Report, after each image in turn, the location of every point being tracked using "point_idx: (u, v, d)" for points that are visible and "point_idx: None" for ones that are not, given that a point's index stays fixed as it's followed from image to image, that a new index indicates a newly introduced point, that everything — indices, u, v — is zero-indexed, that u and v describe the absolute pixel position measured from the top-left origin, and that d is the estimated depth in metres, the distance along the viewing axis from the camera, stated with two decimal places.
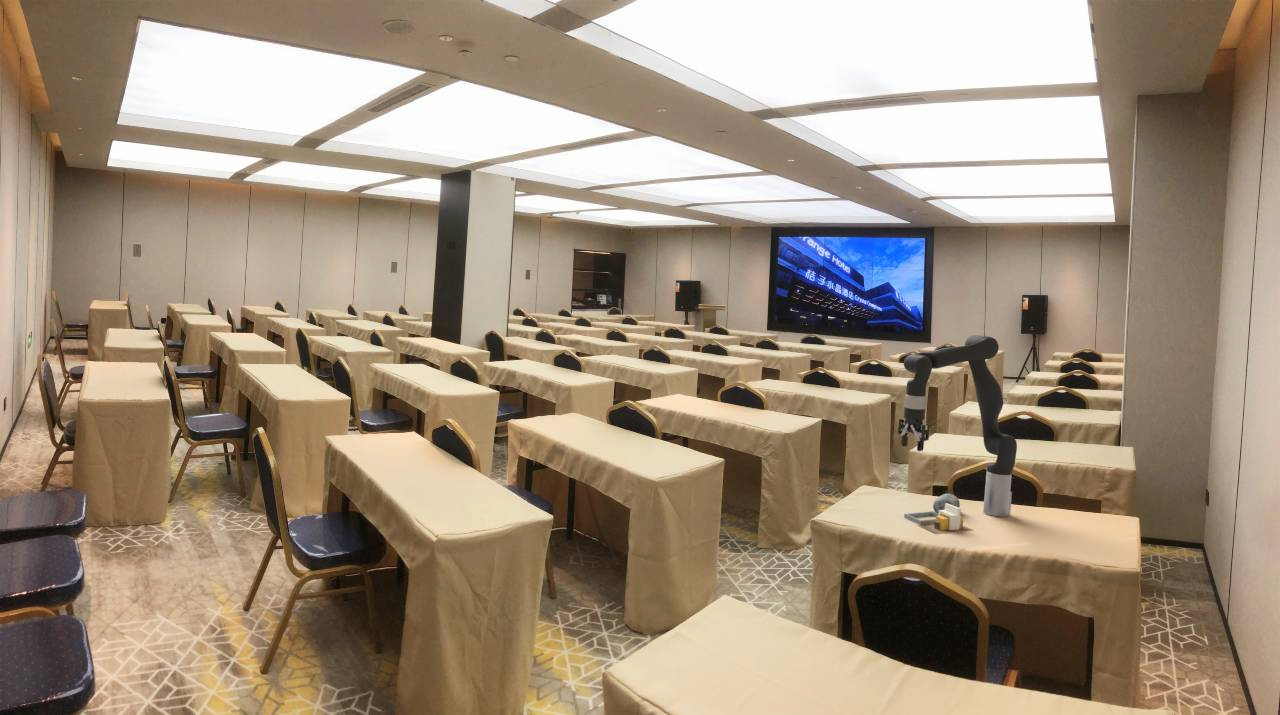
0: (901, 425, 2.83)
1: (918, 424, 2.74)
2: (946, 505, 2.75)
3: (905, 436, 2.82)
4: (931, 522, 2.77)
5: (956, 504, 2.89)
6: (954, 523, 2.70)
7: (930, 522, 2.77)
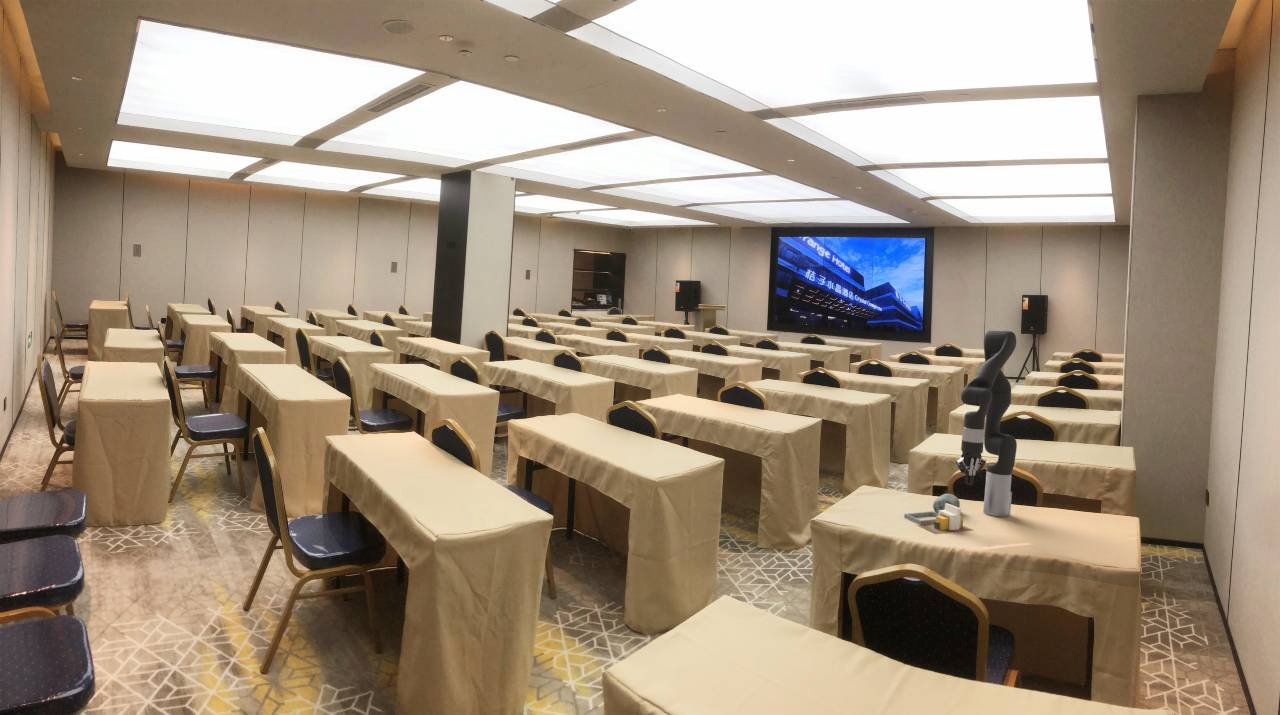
0: None
1: (981, 457, 2.74)
2: (946, 505, 2.75)
3: None
4: (931, 522, 2.77)
5: (956, 504, 2.89)
6: (954, 523, 2.70)
7: (930, 522, 2.77)
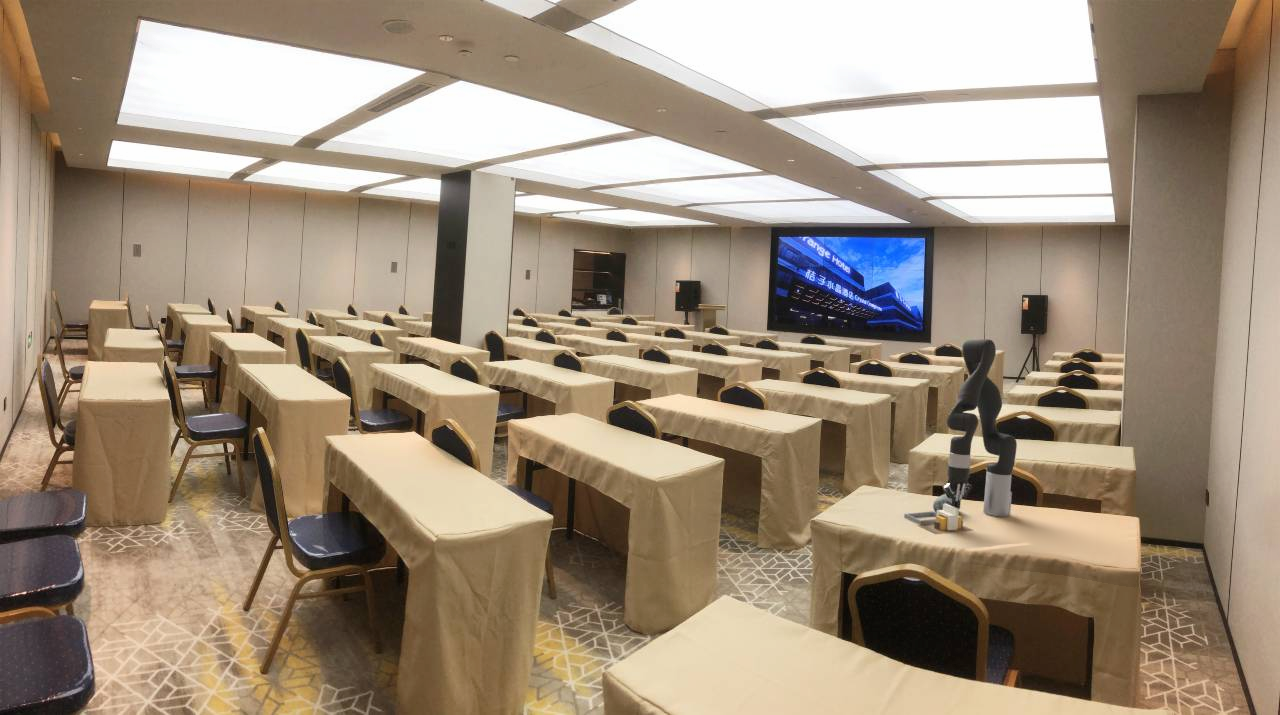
0: None
1: (967, 482, 2.73)
2: (944, 505, 2.75)
3: None
4: (931, 522, 2.77)
5: None
6: (952, 523, 2.70)
7: (930, 522, 2.77)
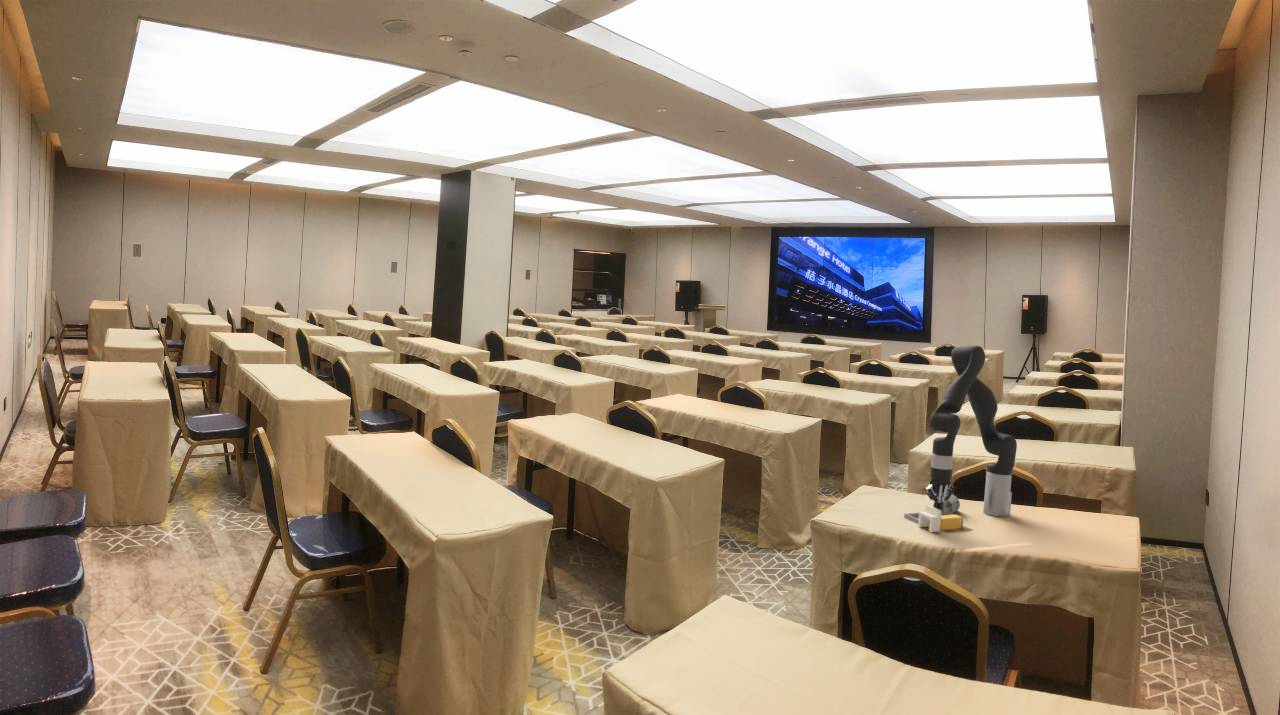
0: None
1: (950, 483, 2.70)
2: (927, 507, 2.72)
3: None
4: None
5: (956, 504, 2.89)
6: (934, 525, 2.67)
7: None
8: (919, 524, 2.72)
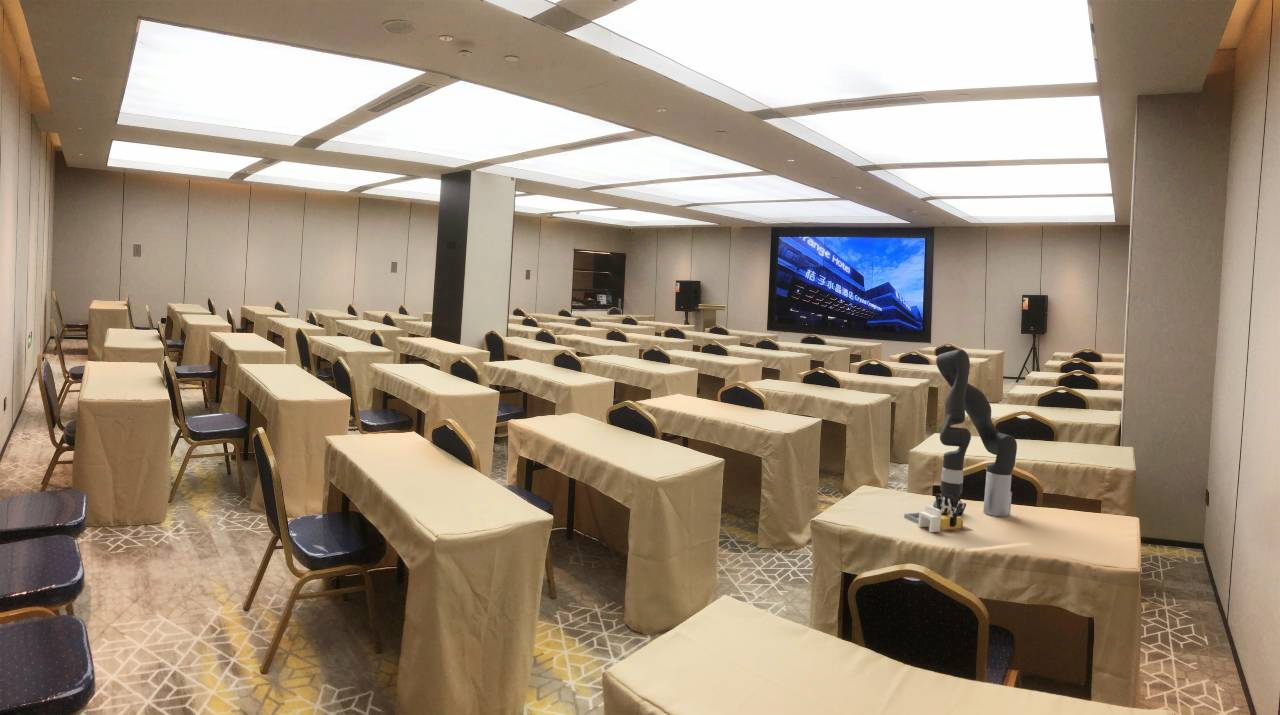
0: None
1: None
2: (927, 507, 2.72)
3: None
4: None
5: None
6: (934, 525, 2.67)
7: None
8: (919, 524, 2.72)
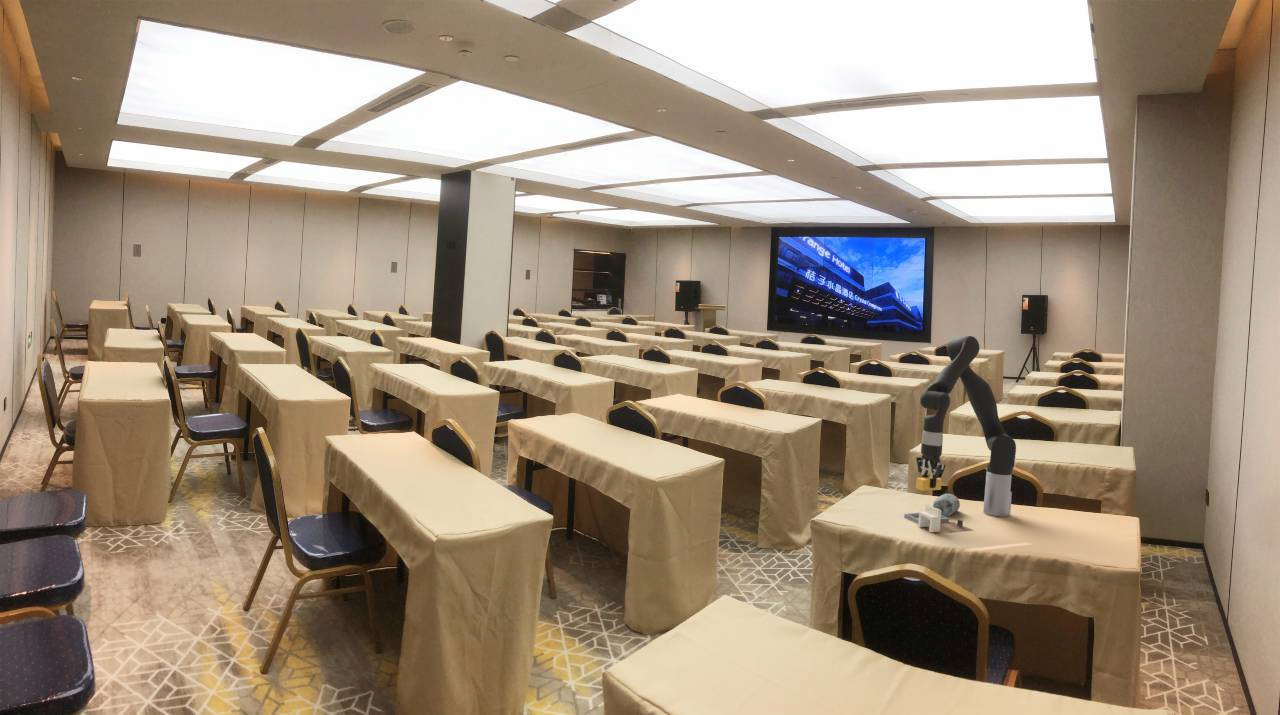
0: None
1: None
2: (927, 507, 2.72)
3: None
4: None
5: (956, 504, 2.89)
6: (934, 525, 2.67)
7: None
8: (919, 524, 2.72)
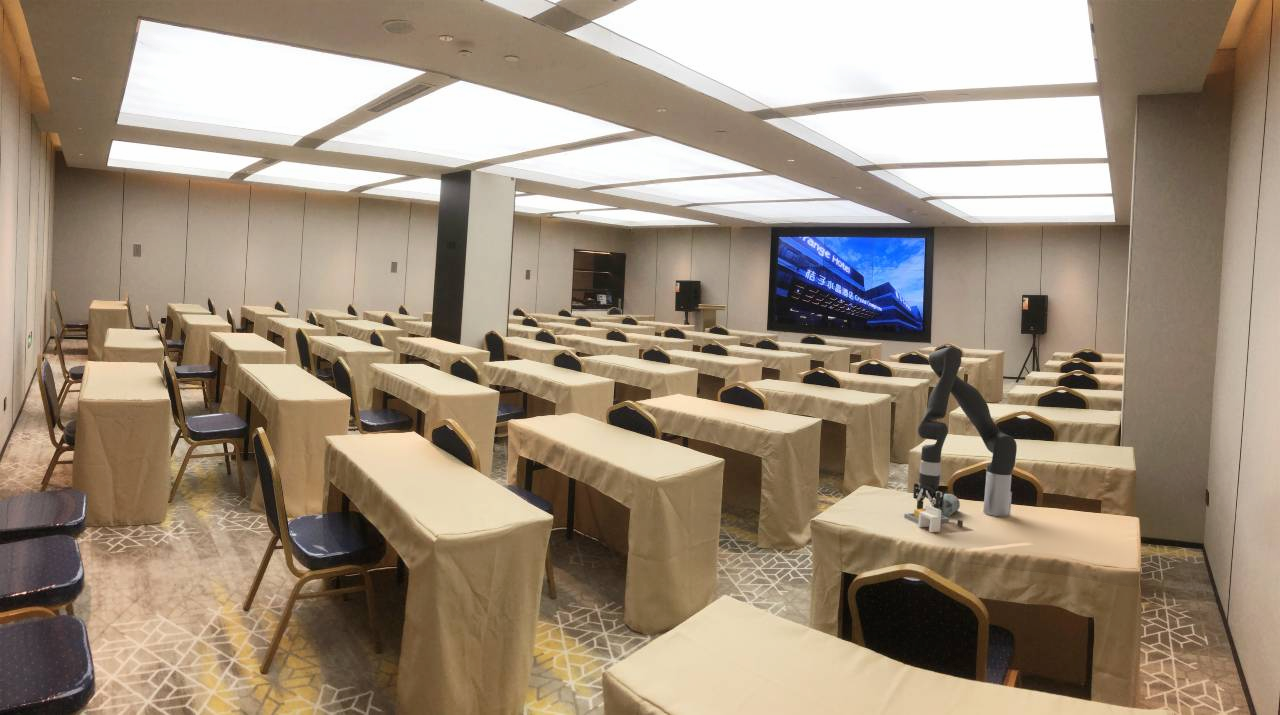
0: None
1: None
2: (927, 507, 2.72)
3: None
4: None
5: (956, 504, 2.89)
6: (934, 525, 2.67)
7: None
8: (919, 524, 2.72)
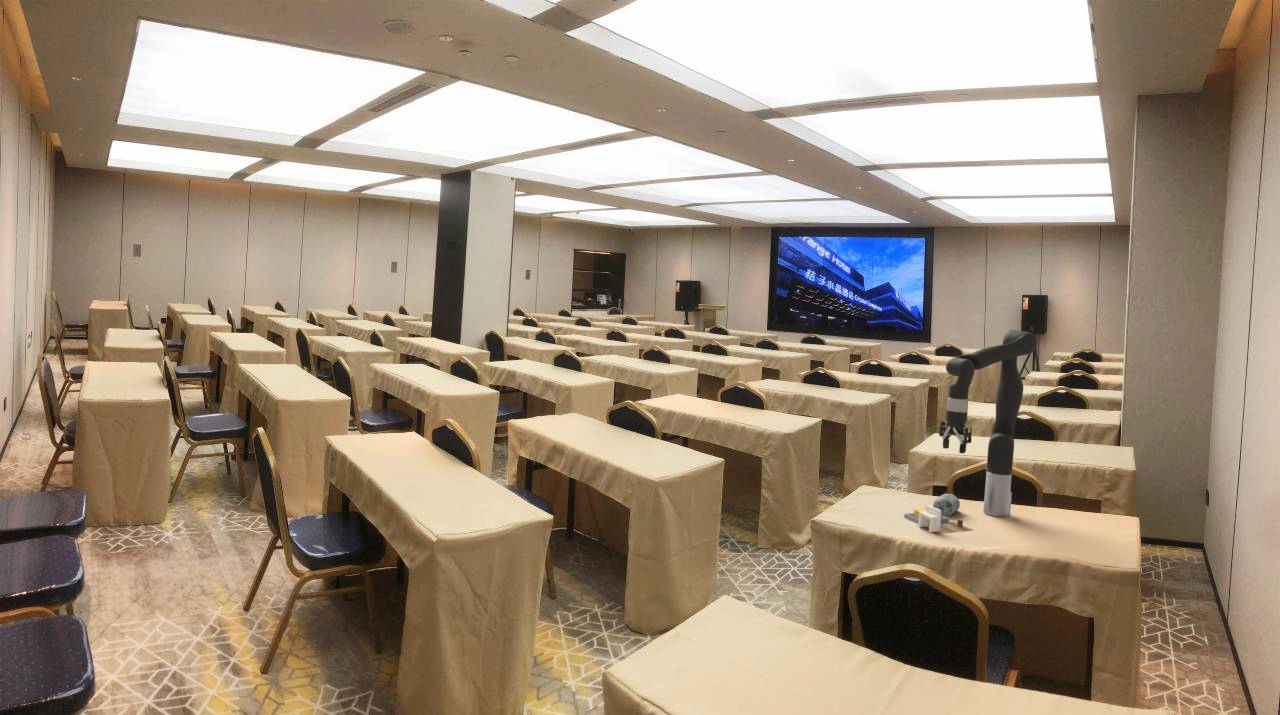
0: None
1: None
2: (927, 507, 2.72)
3: None
4: None
5: (956, 504, 2.89)
6: (934, 525, 2.67)
7: None
8: (919, 524, 2.72)
